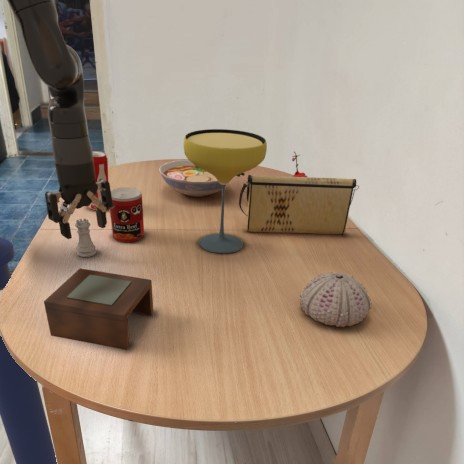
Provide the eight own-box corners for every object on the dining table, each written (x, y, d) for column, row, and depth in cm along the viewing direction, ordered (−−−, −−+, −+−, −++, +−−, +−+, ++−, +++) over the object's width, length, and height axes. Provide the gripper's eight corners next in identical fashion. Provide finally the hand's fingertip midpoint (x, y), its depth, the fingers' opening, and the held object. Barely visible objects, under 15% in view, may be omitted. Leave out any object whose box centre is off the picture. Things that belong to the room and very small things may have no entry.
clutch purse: (343, 226, 125) (354, 172, 117) (350, 237, 119) (362, 180, 111) (236, 223, 123) (239, 167, 115) (237, 233, 117) (241, 176, 109)
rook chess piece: (75, 250, 105) (70, 217, 100) (95, 248, 106) (91, 216, 102) (77, 259, 101) (72, 225, 97) (98, 256, 103) (93, 223, 98)
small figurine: (303, 208, 135) (311, 157, 126) (281, 204, 137) (287, 153, 129) (311, 201, 140) (319, 151, 132) (290, 196, 143) (296, 147, 135)
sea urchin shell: (334, 341, 80) (342, 303, 76) (283, 305, 89) (288, 270, 85) (381, 318, 87) (391, 282, 83) (330, 288, 96) (337, 254, 92)
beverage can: (89, 203, 129) (82, 149, 121) (112, 203, 130) (107, 150, 122) (87, 211, 124) (80, 155, 116) (111, 211, 125) (106, 156, 117)
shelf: (50, 335, 78) (43, 300, 74) (84, 300, 87) (79, 267, 83) (127, 350, 75) (123, 314, 71) (153, 311, 85) (151, 278, 81)
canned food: (109, 242, 109) (105, 198, 103) (115, 228, 116) (111, 186, 110) (142, 243, 110) (139, 199, 103) (146, 229, 116) (143, 187, 110)
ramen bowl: (143, 188, 142) (141, 162, 137) (200, 176, 155) (200, 152, 151) (192, 213, 127) (192, 185, 122) (250, 197, 140) (252, 171, 136)
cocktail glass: (270, 241, 114) (282, 138, 100) (231, 268, 101) (237, 154, 87) (212, 223, 122) (215, 125, 108) (168, 245, 109) (166, 137, 95)
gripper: (93, 148, 98) (103, 219, 107) (31, 160, 89) (46, 236, 98) (114, 155, 94) (122, 228, 103) (50, 168, 85) (64, 247, 94)
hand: (85, 232), depth 101 cm, fingers open, 8 cm apart
